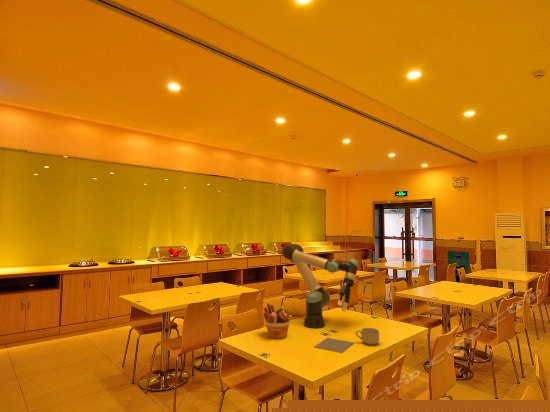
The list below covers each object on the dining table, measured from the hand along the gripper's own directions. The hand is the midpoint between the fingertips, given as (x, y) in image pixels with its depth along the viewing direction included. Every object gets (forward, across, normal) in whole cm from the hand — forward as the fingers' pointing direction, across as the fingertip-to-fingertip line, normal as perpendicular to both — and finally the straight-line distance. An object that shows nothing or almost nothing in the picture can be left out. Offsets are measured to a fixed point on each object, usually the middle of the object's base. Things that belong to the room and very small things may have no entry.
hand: (341, 308), depth 235 cm
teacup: (+20, -10, -24) cm, 33 cm away
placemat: (+28, -21, -8) cm, 35 cm away
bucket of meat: (+33, -18, +31) cm, 49 cm away
